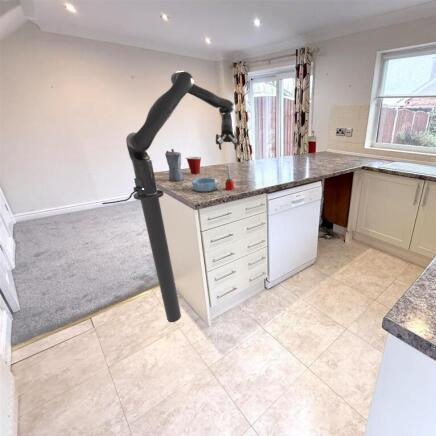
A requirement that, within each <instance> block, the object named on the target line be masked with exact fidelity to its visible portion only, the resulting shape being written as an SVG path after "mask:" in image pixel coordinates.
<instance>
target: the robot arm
mask: <svg viewBox="0 0 436 436" xmlns="http://www.w3.org/2000/svg"><path fill="white" fill-rule="evenodd" d="M170 82H171V84H172V85H171V86H170V88H168V89H167V91H165V92H164V93H163V94H162V95H160V96H159V97H158V98H157V99H156V100H155V101H154V102H153V104H152V105H151V107H150V108H149V110H148V112H147V115H146V119H145V121H144V123H143V124H142V126H141V127H140V129H138V131H137V132H130V133H128V135H127V136H126V139H125V142H126V148H127V152H128V155H129V159H130V161H131V163H132V168H133V172H134V177H135V178H134V179H133V180H134V185H135V186H134V187H133V191H132V192H131V193H130V194H129V197H128V198H126V199H121V200H115V201H114V200H113V201H106V202H101V204H102V205H109V204H116V203H123V202H127V201H129V200H130V199H132V197H133V195H134V194H135V193H137V194H138V195H140V196H144V197H145V196H151V195H155V194H157V193H158V191H157V190H158V184H157V183H156V182H157V181H156V178H155V173H154V167H153V161H152V158H151V156H150V154H149V152H148V150H149V149H150V148H151V146H152V144H153V142H154V140H155V138H156V136H157V135H158V133H159V132H160V130H161V129H162V128H163V127H164V125H165V124H166V123H167V121H168V120H169V119H170V117H171V116H172V114H173V113H174V111H175V110H176V109H177V107H178V105H179V104H180V103H181V101H182V99H184V97H185V96H186V95H187V94H190V96H191V95H192V96H194V97H195V98H197V99H199V100H201V101H203V103H206V104H208V105H210V106H211V107H213V108H215V109H218V112H219V115H220V118H221V122H220V123H221V126H220V130H221V131H220V132H221V133H220V134H218V133H216V134H215V144H216V145H218V149H219V150H220V151H222V145H223V144H224V143H232V144H233V145H234V147H233V148H234V151H236V150H237V149H238V146H239V145H240V143H241V142H240V135H239V134H236V135H235V134H234V133H235V132H234V119H233V115H232V112H234V111H235V109H236V107H235V106H236V105H235V104H234V103H233V102H232V101H231V100H230V99H227V98H224V97H221V96H218V95H217V94H215V93H214V92H212V91H210V90H208V89H205V88H203V87H201V86H199V85H197V84H195V83H194V77H193V75H192V74H191V73H190V72H188V71H185V70H181V71H175V72H172V74H171V76H170Z"/></svg>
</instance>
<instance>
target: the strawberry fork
mask: <svg viewBox="0 0 436 436" xmlns="http://www.w3.org/2000/svg"><path fill="white" fill-rule="evenodd" d="M226 170H227V172H226V173H227V179H226V181H225V185H224V186H225V190H227V191H233V190H234V189H235V185H234V184H235V183H234V180H233V179H232V178H231V167H230V165H226Z"/></svg>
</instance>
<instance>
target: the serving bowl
mask: <svg viewBox="0 0 436 436" xmlns="http://www.w3.org/2000/svg"><path fill="white" fill-rule="evenodd" d="M191 183H192V184H191V185H192V189H193V191H196V192H199V193H200V192H201V193H208V192H212V191H215V190H216V189H218V182H217V179H216V178H211V177H199V178H194V179H193V180H192V181H191Z"/></svg>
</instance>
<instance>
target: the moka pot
mask: <svg viewBox="0 0 436 436" xmlns="http://www.w3.org/2000/svg"><path fill="white" fill-rule="evenodd" d="M164 155H165V159H166V163H167V165H168V179H169V181H171V182H181V181H184V174H183V172H182V153H181V152H178V151H175V149H174V148H171V151H169V150H166V152H165V153H164Z"/></svg>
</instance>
